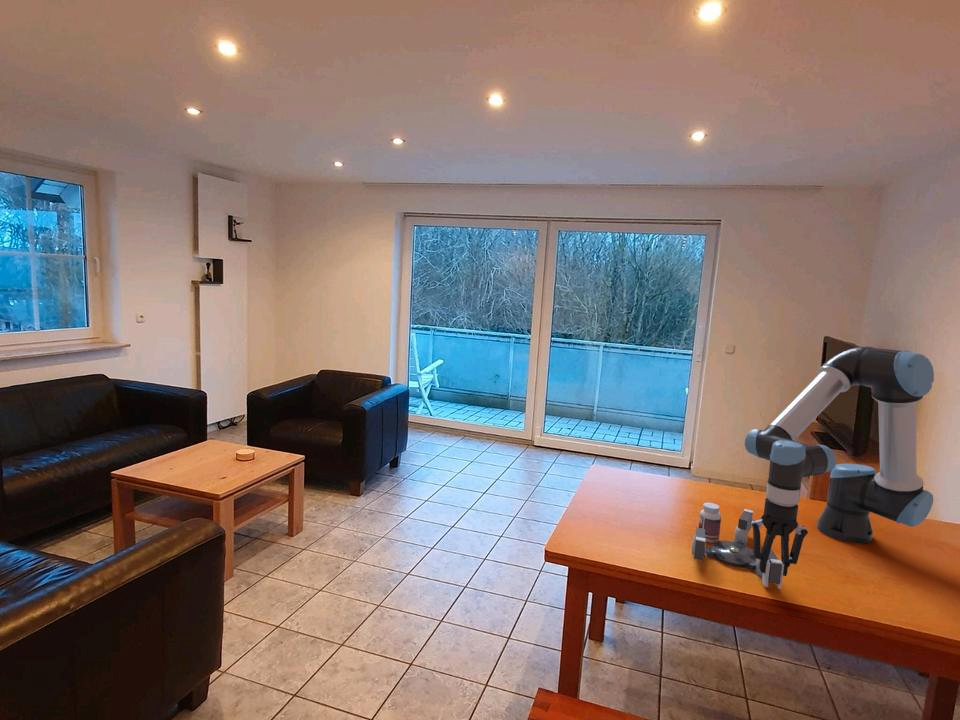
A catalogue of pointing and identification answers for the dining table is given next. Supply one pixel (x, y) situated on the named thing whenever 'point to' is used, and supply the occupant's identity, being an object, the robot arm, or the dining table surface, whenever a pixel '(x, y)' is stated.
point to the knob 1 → (743, 527)
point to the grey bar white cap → (771, 568)
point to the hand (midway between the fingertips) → (771, 584)
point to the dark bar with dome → (699, 544)
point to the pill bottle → (710, 521)
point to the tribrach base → (732, 554)
